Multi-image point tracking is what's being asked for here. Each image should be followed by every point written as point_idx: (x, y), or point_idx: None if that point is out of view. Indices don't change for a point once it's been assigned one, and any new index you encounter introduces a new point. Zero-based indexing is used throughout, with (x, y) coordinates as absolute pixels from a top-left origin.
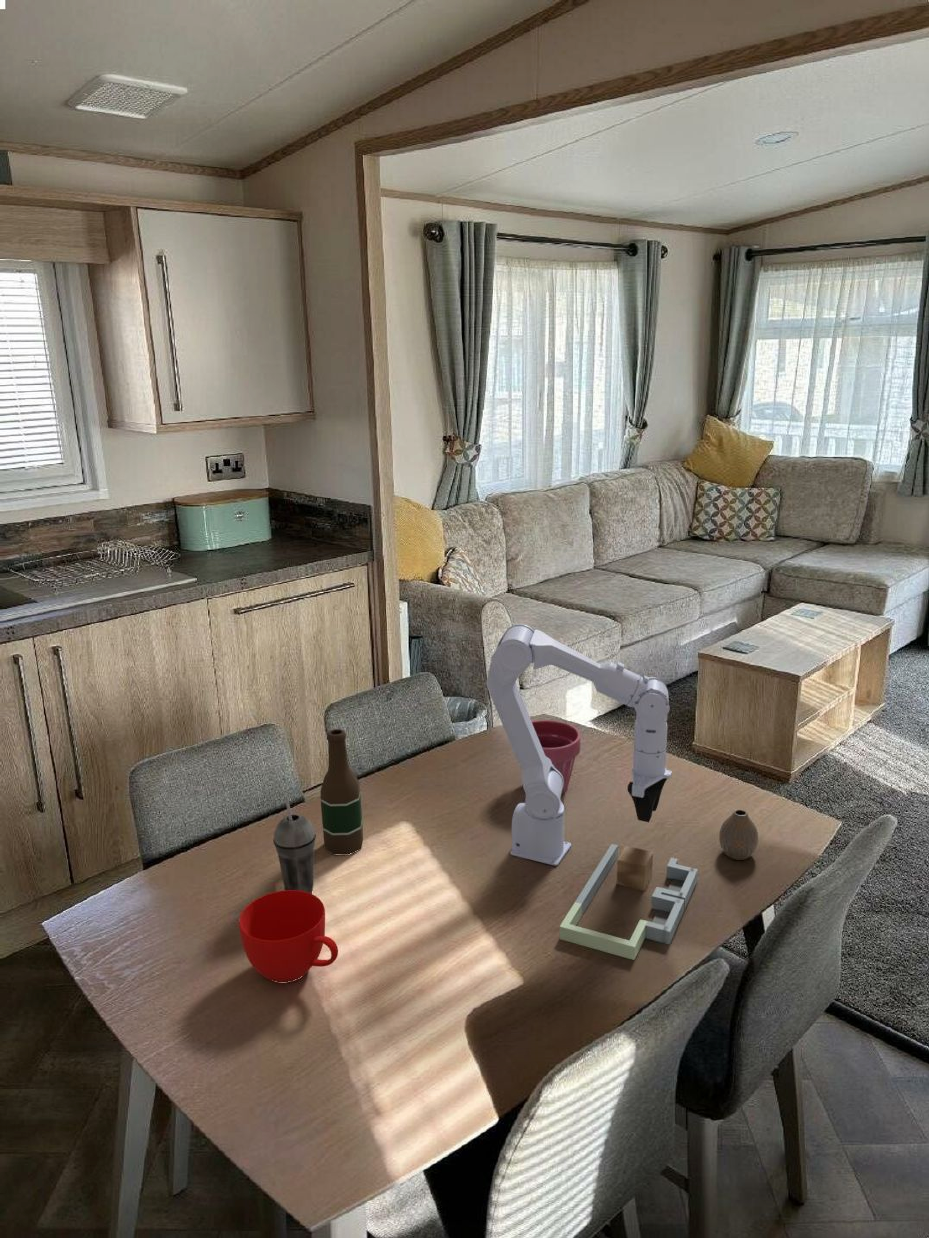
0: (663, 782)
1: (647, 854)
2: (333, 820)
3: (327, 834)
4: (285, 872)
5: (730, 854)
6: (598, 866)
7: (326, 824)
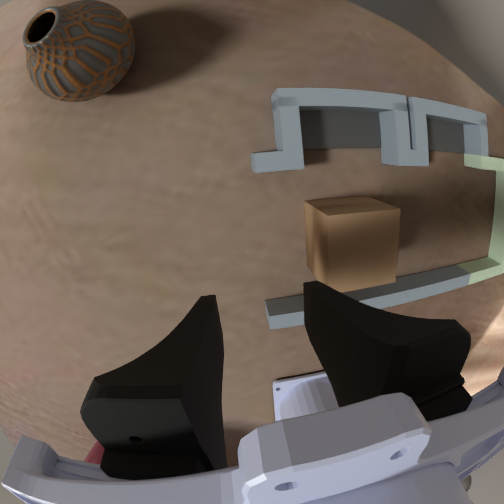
0: (191, 380)
1: (346, 225)
2: None
3: None
4: None
5: (133, 57)
6: None
7: None
